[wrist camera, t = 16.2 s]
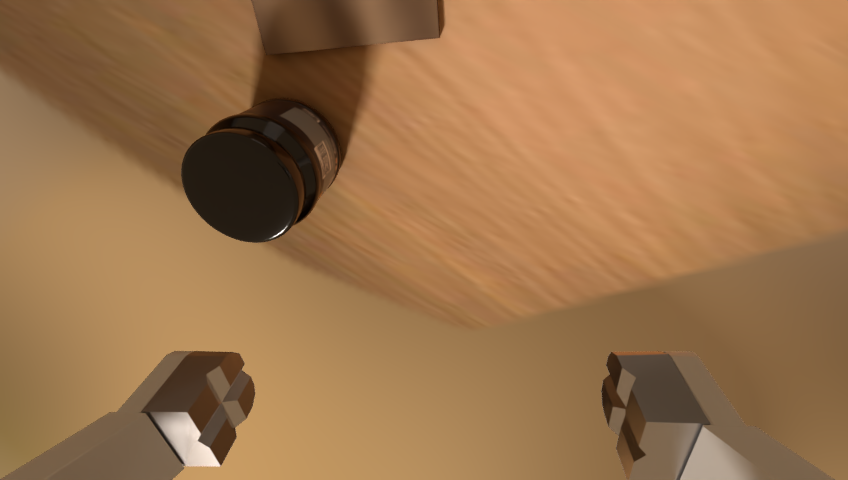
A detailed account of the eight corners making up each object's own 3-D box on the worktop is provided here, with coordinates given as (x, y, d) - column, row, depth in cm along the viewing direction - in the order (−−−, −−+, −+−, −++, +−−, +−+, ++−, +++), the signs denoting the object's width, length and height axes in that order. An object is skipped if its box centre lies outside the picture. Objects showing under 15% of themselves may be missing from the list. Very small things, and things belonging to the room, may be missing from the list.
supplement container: (228, 145, 42) (151, 189, 32) (282, 71, 37) (212, 94, 27) (306, 210, 45) (259, 269, 35) (364, 148, 41) (330, 195, 30)
